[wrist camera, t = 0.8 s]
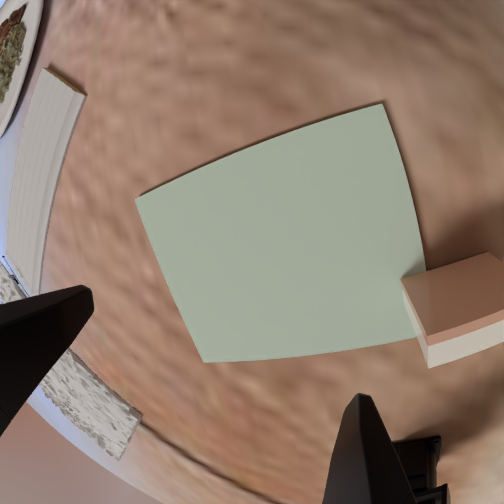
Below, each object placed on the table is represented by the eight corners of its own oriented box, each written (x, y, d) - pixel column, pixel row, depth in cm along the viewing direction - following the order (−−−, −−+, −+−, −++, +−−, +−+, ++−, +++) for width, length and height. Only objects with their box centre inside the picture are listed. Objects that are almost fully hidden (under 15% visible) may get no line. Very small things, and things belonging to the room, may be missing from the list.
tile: (489, 278, 16) (537, 325, 9) (404, 305, 18) (428, 368, 12) (487, 251, 16) (541, 292, 9) (400, 278, 18) (427, 336, 11)
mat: (431, 329, 19) (432, 333, 18) (206, 359, 27) (204, 362, 27) (381, 104, 15) (382, 103, 15) (138, 198, 24) (134, 199, 23)
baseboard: (98, 101, 23) (52, 68, 24) (76, 100, 20) (33, 66, 21) (47, 301, 37) (12, 251, 38) (33, 309, 35) (0, 257, 36)
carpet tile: (13, 346, 55) (8, 349, 53) (1, 258, 41) (-7, 261, 40) (121, 457, 50) (116, 463, 49) (145, 413, 37) (137, 421, 35)
